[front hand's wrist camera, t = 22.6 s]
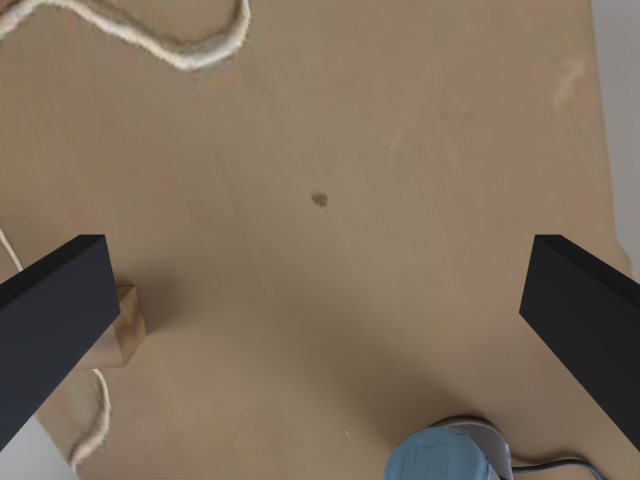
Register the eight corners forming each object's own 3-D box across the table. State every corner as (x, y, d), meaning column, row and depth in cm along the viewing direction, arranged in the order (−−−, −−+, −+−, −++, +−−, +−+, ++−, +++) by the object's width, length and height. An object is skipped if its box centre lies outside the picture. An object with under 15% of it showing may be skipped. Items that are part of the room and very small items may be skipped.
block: (147, 335, 58) (124, 367, 51) (104, 337, 58) (76, 369, 51) (135, 285, 55) (109, 312, 48) (90, 287, 55) (58, 315, 49)
